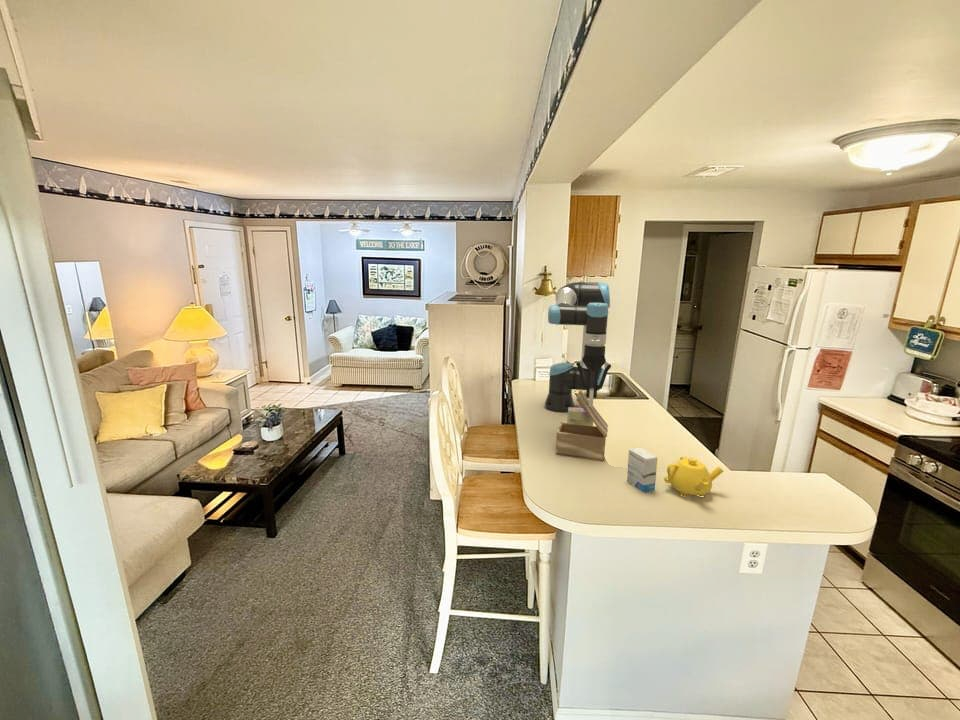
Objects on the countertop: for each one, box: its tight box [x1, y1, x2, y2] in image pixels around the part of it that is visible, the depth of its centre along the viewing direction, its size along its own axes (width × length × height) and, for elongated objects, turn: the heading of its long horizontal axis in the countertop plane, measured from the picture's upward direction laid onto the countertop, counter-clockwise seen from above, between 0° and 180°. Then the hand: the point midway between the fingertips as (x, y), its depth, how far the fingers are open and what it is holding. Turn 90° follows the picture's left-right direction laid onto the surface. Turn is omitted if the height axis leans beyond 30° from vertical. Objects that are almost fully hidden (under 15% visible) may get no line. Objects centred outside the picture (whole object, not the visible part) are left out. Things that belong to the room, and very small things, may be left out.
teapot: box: [663, 456, 724, 497], centre depth 134 cm, size 14×14×11 cm
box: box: [566, 406, 594, 426], centre depth 180 cm, size 10×6×12 cm, turn 84°
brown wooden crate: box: [555, 421, 607, 462], centre depth 164 cm, size 12×18×9 cm, turn 72°
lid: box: [576, 390, 609, 438], centre depth 160 cm, size 12×17×1 cm
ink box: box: [626, 447, 658, 493], centre depth 138 cm, size 9×5×12 cm, turn 19°
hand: (590, 405), depth 160 cm, fingers closed
